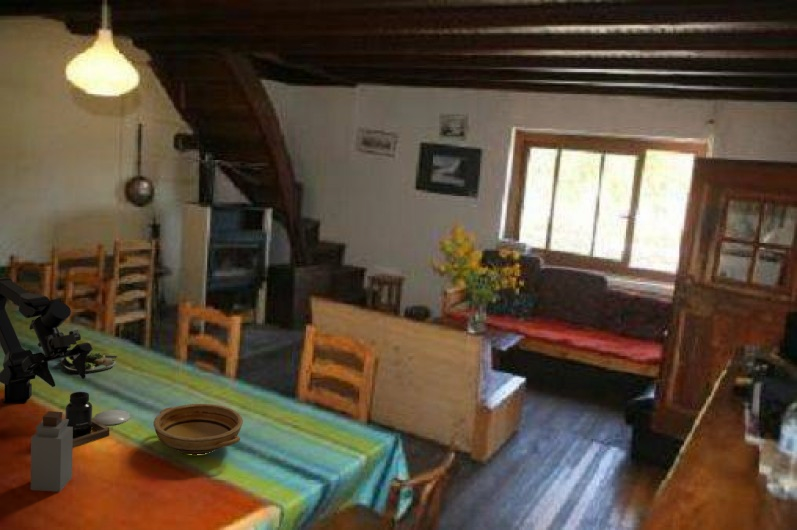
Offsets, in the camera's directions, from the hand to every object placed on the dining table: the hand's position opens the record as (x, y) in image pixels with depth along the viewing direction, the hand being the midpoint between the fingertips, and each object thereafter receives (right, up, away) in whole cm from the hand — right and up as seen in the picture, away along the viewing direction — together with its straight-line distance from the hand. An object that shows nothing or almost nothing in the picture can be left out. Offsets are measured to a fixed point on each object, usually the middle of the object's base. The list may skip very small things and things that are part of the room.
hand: (69, 382), depth 187 cm
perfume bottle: (+10, -20, -29) cm, 36 cm away
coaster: (+8, -13, +9) cm, 18 cm away
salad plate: (-19, -3, +49) cm, 52 cm away
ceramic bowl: (+38, -18, -3) cm, 42 cm away
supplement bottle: (+4, -15, -3) cm, 15 cm away
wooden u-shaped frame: (+4, -14, -3) cm, 15 cm away
